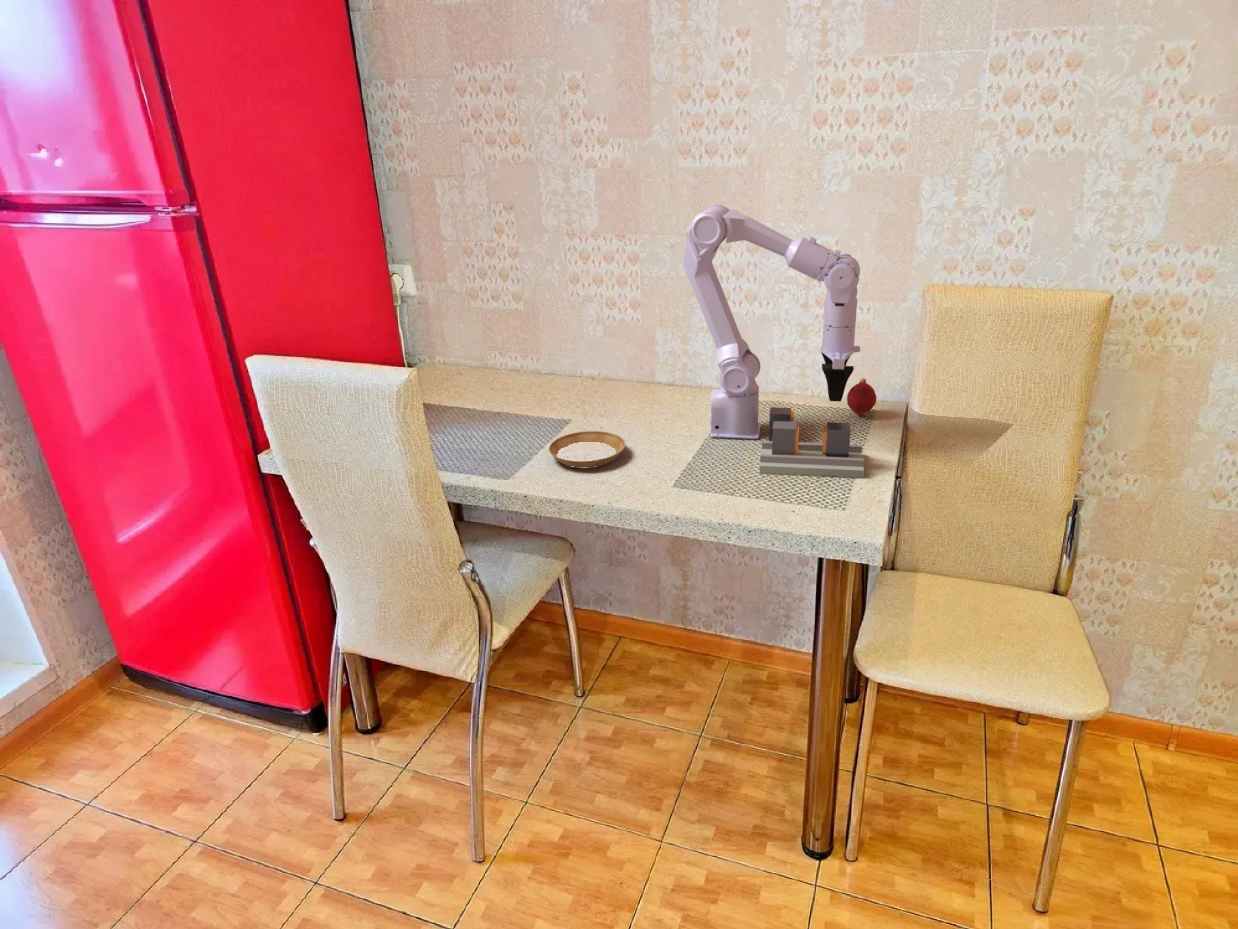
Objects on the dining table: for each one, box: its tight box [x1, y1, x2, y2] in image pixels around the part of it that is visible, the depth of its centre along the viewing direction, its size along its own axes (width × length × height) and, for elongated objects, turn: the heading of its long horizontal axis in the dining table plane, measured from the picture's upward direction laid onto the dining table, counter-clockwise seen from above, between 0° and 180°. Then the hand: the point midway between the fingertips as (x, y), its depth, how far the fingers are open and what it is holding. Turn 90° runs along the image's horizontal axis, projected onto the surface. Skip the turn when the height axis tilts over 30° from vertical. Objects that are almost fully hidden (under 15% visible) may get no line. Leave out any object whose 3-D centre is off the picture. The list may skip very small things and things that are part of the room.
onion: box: [846, 377, 877, 417], centre depth 169 cm, size 6×6×8 cm
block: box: [768, 406, 795, 441], centre depth 161 cm, size 5×4×6 cm
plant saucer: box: [548, 430, 626, 467], centre depth 158 cm, size 15×15×3 cm
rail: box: [759, 421, 865, 479], centre depth 149 cm, size 18×10×8 cm, turn 78°
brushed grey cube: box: [821, 421, 852, 458], centre depth 148 cm, size 5×4×6 cm
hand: (834, 393), depth 157 cm, fingers open, 7 cm apart
